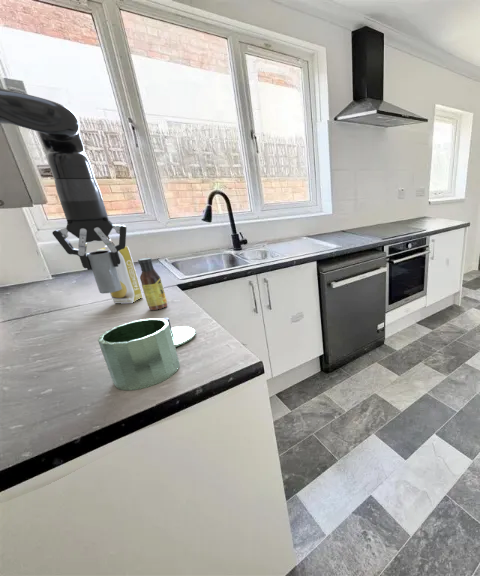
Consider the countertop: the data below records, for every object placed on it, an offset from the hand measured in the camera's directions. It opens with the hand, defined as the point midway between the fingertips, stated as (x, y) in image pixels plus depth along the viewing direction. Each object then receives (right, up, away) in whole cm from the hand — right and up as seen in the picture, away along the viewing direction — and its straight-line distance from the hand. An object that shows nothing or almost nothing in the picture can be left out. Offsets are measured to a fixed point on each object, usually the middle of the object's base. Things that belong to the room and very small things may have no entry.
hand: (103, 267), depth 79 cm
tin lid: (+5, -21, +17) cm, 27 cm away
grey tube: (0, -6, +2) cm, 7 cm away
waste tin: (+11, -27, 0) cm, 30 cm away
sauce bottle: (-17, -13, +43) cm, 48 cm away
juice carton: (-35, -11, +51) cm, 63 cm away
